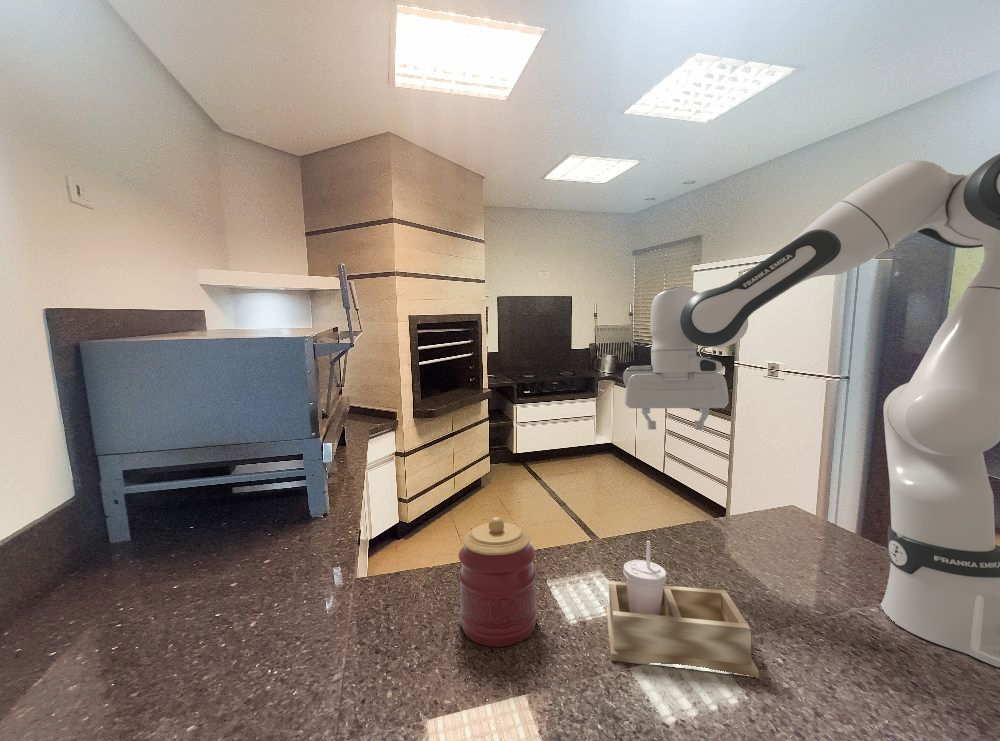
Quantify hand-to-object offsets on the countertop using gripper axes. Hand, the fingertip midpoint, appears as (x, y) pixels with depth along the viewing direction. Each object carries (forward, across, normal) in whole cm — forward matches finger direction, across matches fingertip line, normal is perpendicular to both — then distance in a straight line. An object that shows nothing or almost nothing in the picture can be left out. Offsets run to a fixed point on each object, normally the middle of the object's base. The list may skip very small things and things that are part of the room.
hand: (675, 429), depth 84 cm
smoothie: (+28, -11, -25) cm, 39 cm away
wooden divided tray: (+29, -6, -25) cm, 39 cm away
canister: (+29, -34, -25) cm, 51 cm away
